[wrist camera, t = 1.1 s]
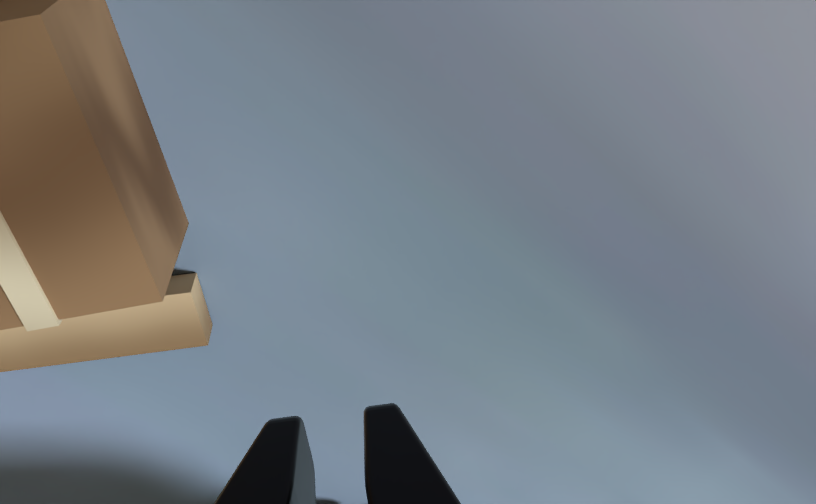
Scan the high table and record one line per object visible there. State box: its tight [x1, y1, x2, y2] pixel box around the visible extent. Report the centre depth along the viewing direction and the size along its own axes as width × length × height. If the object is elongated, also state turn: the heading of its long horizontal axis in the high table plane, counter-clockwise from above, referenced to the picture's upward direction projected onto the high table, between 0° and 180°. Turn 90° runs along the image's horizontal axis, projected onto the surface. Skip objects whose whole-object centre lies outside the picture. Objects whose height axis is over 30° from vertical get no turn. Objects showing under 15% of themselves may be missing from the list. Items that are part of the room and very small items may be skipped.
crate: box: [0, 0, 189, 331], centre depth 18 cm, size 7×6×4 cm
